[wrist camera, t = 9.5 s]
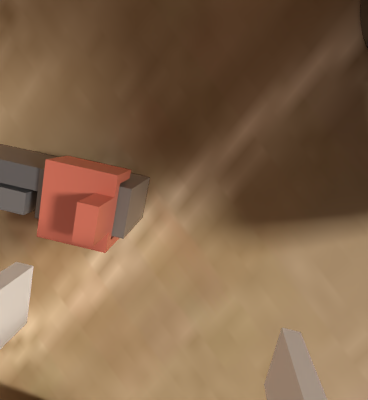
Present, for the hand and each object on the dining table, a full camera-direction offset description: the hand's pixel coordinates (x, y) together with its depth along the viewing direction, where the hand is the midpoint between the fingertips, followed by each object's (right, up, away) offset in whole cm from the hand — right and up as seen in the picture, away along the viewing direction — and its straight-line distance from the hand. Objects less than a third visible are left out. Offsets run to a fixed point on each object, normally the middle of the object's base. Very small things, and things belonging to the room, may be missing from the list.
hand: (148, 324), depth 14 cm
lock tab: (-7, +5, +17) cm, 19 cm away
